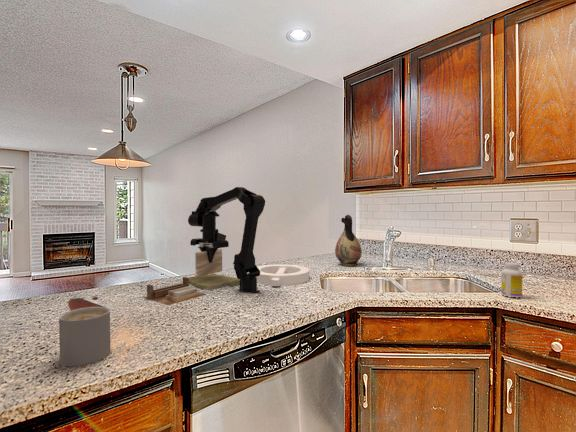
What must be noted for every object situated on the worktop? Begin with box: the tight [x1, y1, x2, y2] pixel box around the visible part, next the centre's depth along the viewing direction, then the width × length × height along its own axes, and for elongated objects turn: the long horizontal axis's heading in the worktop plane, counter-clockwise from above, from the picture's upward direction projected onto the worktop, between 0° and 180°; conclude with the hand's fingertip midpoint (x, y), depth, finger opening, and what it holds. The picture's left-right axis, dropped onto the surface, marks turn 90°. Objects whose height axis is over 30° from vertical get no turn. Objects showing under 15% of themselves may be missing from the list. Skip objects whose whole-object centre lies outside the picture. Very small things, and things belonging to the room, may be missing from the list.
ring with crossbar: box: [257, 263, 310, 287], centre depth 157 cm, size 28×28×5 cm
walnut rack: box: [142, 276, 207, 306], centre depth 122 cm, size 16×17×6 cm
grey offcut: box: [168, 285, 198, 297], centre depth 120 cm, size 5×9×2 cm, turn 145°
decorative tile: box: [188, 273, 240, 291], centre depth 143 cm, size 19×20×4 cm
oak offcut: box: [166, 291, 200, 303], centre depth 120 cm, size 6×10×2 cm, turn 145°
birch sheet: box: [194, 248, 223, 277], centre depth 142 cm, size 1×14×10 cm, turn 145°
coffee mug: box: [58, 306, 111, 367], centre depth 77 cm, size 13×10×10 cm
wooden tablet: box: [68, 294, 104, 311], centre depth 112 cm, size 27×10×2 cm, turn 37°
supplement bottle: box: [500, 262, 523, 298], centre depth 126 cm, size 7×7×13 cm
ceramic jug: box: [334, 214, 363, 267], centre depth 192 cm, size 17×15×30 cm
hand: (209, 262), depth 142 cm, fingers closed on birch sheet, 1 cm apart
